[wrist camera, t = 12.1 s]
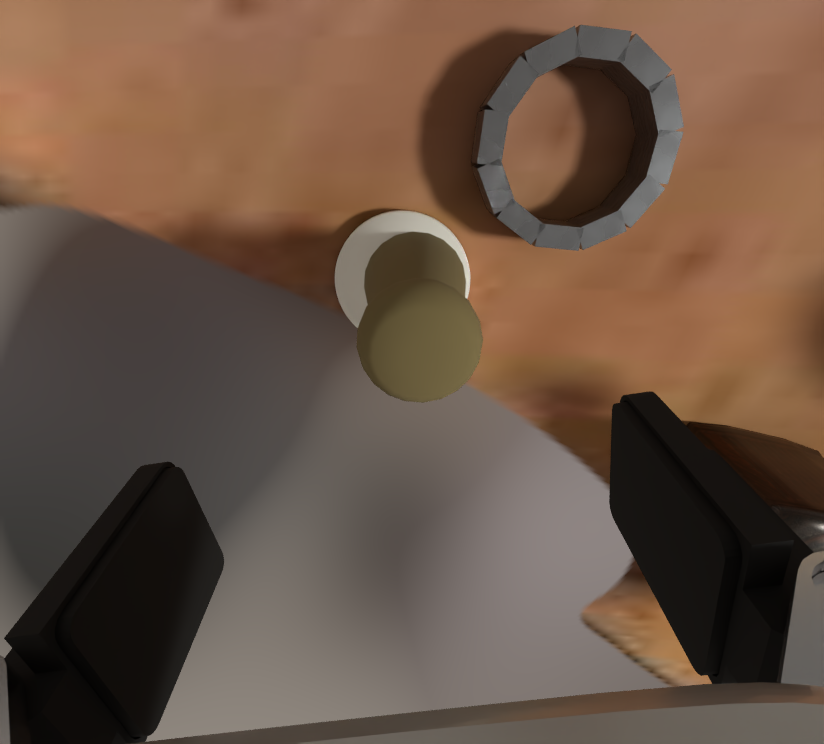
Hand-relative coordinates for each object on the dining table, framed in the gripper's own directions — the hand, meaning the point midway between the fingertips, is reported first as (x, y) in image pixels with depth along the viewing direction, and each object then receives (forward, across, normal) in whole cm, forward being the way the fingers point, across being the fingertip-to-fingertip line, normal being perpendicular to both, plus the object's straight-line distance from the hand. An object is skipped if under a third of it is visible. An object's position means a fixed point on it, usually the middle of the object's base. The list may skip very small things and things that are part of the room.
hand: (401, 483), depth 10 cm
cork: (+20, 0, +1) cm, 20 cm away
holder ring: (+20, -10, -4) cm, 23 cm away
